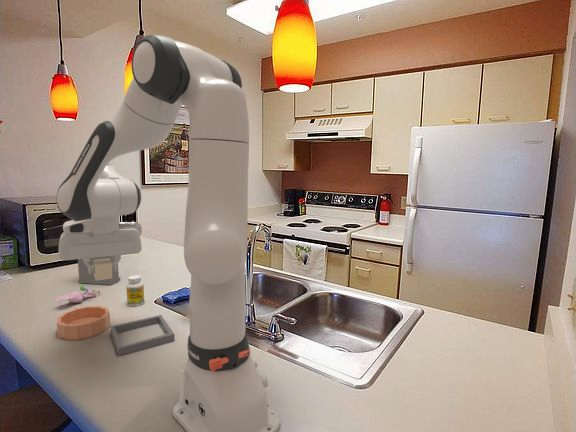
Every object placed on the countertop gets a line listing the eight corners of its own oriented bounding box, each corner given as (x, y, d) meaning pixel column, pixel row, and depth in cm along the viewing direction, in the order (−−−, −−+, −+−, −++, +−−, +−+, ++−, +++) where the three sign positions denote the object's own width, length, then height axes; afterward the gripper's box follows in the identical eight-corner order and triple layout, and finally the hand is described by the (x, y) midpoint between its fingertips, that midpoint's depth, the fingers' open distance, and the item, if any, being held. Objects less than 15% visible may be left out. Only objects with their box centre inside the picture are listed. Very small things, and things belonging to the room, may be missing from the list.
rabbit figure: (90, 296, 123) (49, 305, 109) (92, 281, 124) (51, 287, 109) (103, 299, 121) (63, 309, 107) (104, 283, 121) (64, 290, 107)
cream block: (112, 278, 93) (111, 263, 92) (95, 280, 91) (95, 264, 90) (109, 273, 97) (109, 258, 96) (94, 275, 95) (93, 260, 94)
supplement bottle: (142, 299, 119) (141, 273, 118) (145, 304, 115) (144, 278, 113) (126, 302, 116) (124, 276, 115) (128, 307, 112) (127, 280, 110)
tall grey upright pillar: (120, 280, 138) (117, 221, 134) (111, 285, 131) (107, 223, 128) (89, 278, 139) (85, 219, 135) (78, 283, 133) (74, 222, 129)
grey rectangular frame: (174, 340, 92) (174, 333, 92) (118, 356, 84) (118, 348, 84) (161, 320, 103) (161, 314, 103) (110, 332, 95) (110, 326, 95)
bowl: (112, 331, 96) (111, 318, 95) (58, 344, 88) (56, 330, 88) (106, 314, 106) (106, 302, 106) (57, 324, 99) (56, 312, 98)
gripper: (139, 219, 100) (140, 263, 102) (56, 223, 88) (59, 273, 90) (143, 223, 95) (144, 269, 97) (56, 227, 83) (59, 280, 85)
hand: (102, 271), depth 94 cm, fingers closed on cream block, 4 cm apart
